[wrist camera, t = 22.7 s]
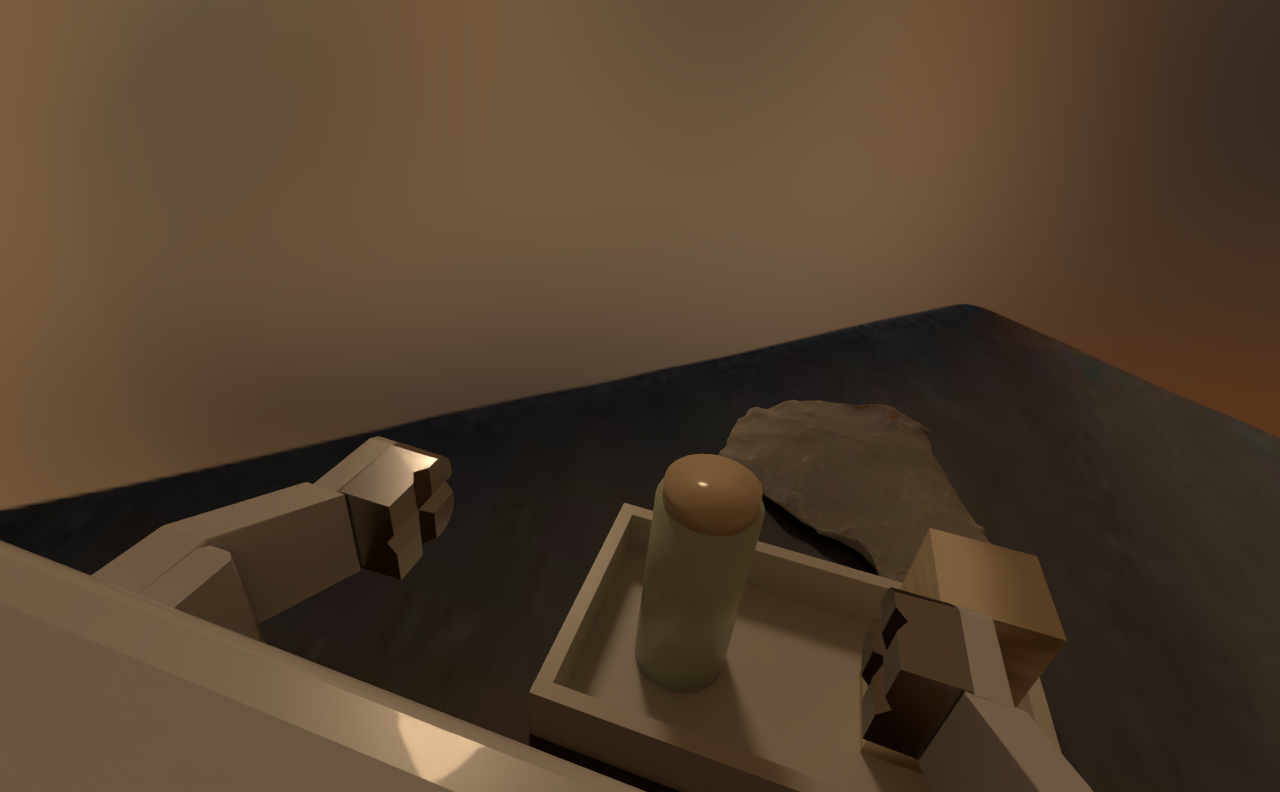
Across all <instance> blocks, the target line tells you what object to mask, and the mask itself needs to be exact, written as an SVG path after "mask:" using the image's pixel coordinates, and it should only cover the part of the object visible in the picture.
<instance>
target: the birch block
mask: <svg viewBox="0 0 1280 792" xmlns="http://www.w3.org/2000/svg"><path fill="white" fill-rule="evenodd" d="M900 590H904V591H907V592H911V593H914V594H918V595H921V596H925V597H928V598H932V599H936V600H939V601H943V602H946V603H950V604H952V605H957V606H961V607H965V608H968V609H972V610H975V611H979V612H983V613H986V614H989V615H990V617H991V618H992V619H993V621H994V625H995V629H996V633H997V637H998V641H999V645H1000V649H1001V653H1002V657H1003V661H1004V665H1005V669H1006V673H1007V677H1008V681H1009V685H1010V689H1011V693H1012V697H1013V701H1014V705H1015V708H1016V707H1017V706H1018V704H1019V703H1020V702H1021V700H1022V699H1023V698H1024V697H1025V695H1026V694H1027V693H1028V691H1029V690H1030V689H1031V687H1032V686H1033V685H1034V683H1035V682H1036V681H1037V679H1038V678H1039V677H1040V675H1041V674H1042V673H1043V671H1044V670H1045V669H1046V667H1047V666H1048V665H1049V663H1050V662H1051V661H1052V659H1053V658H1054V657H1055V655H1056V654H1057V653H1058V651H1059V650H1060V649H1061V647H1062V646H1063V645H1064V644H1065V642H1066V641H1067V640H1066V637H1065V634H1064V632H1063V629H1062V626H1061V623H1060V620H1059V617H1058V615H1057V612H1056V609H1055V606H1054V603H1053V600H1052V598H1051V595H1050V592H1049V589H1048V586H1047V583H1046V581H1045V578H1044V575H1043V572H1042V569H1041V566H1040V564H1039V561H1038V558H1037V556H1033V555H1030V554H1026V553H1022V552H1018V551H1015V550H1011V549H1007V548H1003V547H1000V546H996V545H992V544H988V543H985V542H981V541H977V540H973V539H970V538H966V537H962V536H958V535H955V534H951V533H947V532H943V531H940V530H936V529H932V528H929V530H928V532H927V534H926V536H925V538H924V540H923V542H922V544H921V546H920V548H919V550H918V553H917V555H916V557H915V559H914V561H913V563H912V565H911V567H910V569H909V571H908V573H907V575H906V577H905V579H904V582H903V584H902V586H901V588H900ZM867 688H868V685H867V683H866V682H865V680H864V679H863V677H862V676H861V670H860V752H862V753H865V754H868V755H870V756H873V757H876V758H879V759H882V760H885V761H888V762H891V763H893V764H896V765H899V766H902V767H905V768H908V769H911V770H914V771H916V772H919V773H922V774H923V772H922V770H921V768H920V766H919V764H918V761H919V760H918V759H915V758H912V757H910V756H907V755H904V754H902V753H899V752H896V751H894V750H891V749H888V748H886V747H883V746H880V745H877V744H875V743H872V742H869V741H867V740H864V739H862V698H863V696H864V694H865V692H866V690H867Z"/></svg>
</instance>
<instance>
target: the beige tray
mask: <svg viewBox="0 0 1280 792" xmlns="http://www.w3.org/2000/svg"><path fill="white" fill-rule="evenodd" d="M652 517H653V511H651V510H647V509H644V508H640V507H637V506H633V505H630V504H626V503H624V505H623V507H622V509H621V511H620V513H619V514H618V516H617V518H616V520H615V522H614V524H613V526H612V528H611V530H610V532H609V534H608V536H607V538H606V540H605V542H604V544H603V546H602V548H601V550H600V552H599V554H598V556H597V558H596V560H595V562H594V564H593V566H592V568H591V570H590V572H589V574H588V576H587V578H586V580H585V582H584V584H583V586H582V588H581V590H580V592H579V594H578V596H577V598H576V600H575V602H574V604H573V606H572V608H571V610H570V612H569V614H568V616H567V618H566V620H565V622H564V624H563V626H562V628H561V630H560V632H559V634H558V636H557V638H556V640H555V642H554V644H553V646H552V648H551V650H550V652H549V654H548V656H547V658H546V660H545V662H544V664H543V666H542V668H541V670H540V672H539V674H538V676H537V678H536V680H535V682H534V684H533V686H532V688H531V690H530V692H529V734H531V735H533V736H536V737H539V738H541V739H544V740H546V741H549V742H552V743H554V744H557V745H559V746H562V747H565V748H567V749H570V750H572V751H575V752H578V753H580V754H583V755H586V756H588V757H591V758H593V759H596V760H599V761H601V762H604V763H606V764H609V765H612V766H614V767H617V768H619V769H622V770H625V771H627V772H630V773H633V774H635V775H638V776H640V777H643V778H646V779H648V780H651V781H653V782H656V783H659V784H661V785H664V786H666V787H669V788H672V789H674V790H677V791H680V792H933V791H932V789H931V787H930V785H929V783H928V781H927V779H926V777H925V776H924V774H922V773H919V772H916V771H914V770H911V769H908V768H905V767H902V766H899V765H896V764H893V763H891V762H888V761H885V760H882V759H879V758H876V757H873V756H870V755H868V754H865V753H862V752H860V670H861V660H862V650H863V645H864V641H865V637H866V633H867V630H868V628H869V626H870V623H871V621H872V619H874V618H877V617H879V616H881V600H882V598H883V596H884V594H885V592H886V591H887V590H888V589H889V588H890V587H893V588H897V589H900V588H901V586H902V584H903V583H902V582H898V581H895V580H891V579H888V578H884V577H881V576H877V575H874V574H870V573H867V572H863V571H860V570H856V569H853V568H849V567H846V566H842V565H839V564H835V563H832V562H828V561H825V560H821V559H818V558H814V557H811V556H808V555H804V554H801V553H797V552H794V551H790V550H787V549H783V548H780V547H776V546H773V545H769V544H766V543H762V542H759V541H757V545H756V549H755V552H754V556H753V559H752V563H751V567H750V570H749V574H748V578H747V581H746V585H745V589H744V592H743V596H742V600H741V603H740V607H739V610H738V614H737V618H736V621H735V625H734V629H733V632H732V636H731V640H730V643H729V647H728V651H727V654H726V658H725V661H724V665H723V668H722V671H721V673H720V675H719V677H718V678H717V680H716V681H715V682H714V683H713V684H711V685H710V686H709V687H707V688H705V689H703V690H701V691H698V692H694V693H675V692H671V691H667V690H665V689H663V688H661V687H659V686H657V685H655V684H654V683H653V682H651V681H650V680H649V679H648V678H647V677H646V676H645V675H644V673H643V672H642V671H641V669H640V667H639V665H638V663H637V661H636V657H635V652H634V645H635V637H636V630H637V623H638V616H639V609H640V602H641V595H642V588H643V580H644V573H645V566H646V559H647V552H648V545H649V538H650V531H651V524H652ZM1016 708H1018V709H1021V710H1024V711H1026V712H1027V713H1028V714H1029V716H1030V717H1031V718H1032V719H1033V720H1034V721H1035V723H1036V724H1037V725H1038V726H1039V727H1040V729H1041V730H1042V731H1043V732H1044V733H1045V735H1046V736H1047V737H1048V738H1049V739H1050V741H1051V742H1052V743H1053V744H1054V745H1055V746H1056V748H1057V749H1058V750H1059V751H1060V752H1061V749H1060V746H1059V743H1058V739H1057V736H1056V732H1055V729H1054V725H1053V722H1052V719H1051V715H1050V712H1049V708H1048V705H1047V701H1046V698H1045V694H1044V691H1043V688H1042V684H1041V681H1040V677H1039V678H1038V679H1037V681H1036V682H1035V683H1034V685H1033V686H1032V687H1031V689H1030V690H1029V691H1028V693H1027V694H1026V695H1025V697H1024V698H1023V699H1022V700H1021V702H1020V703H1019V704H1018V706H1017V707H1016ZM1061 754H1062V753H1061Z"/></svg>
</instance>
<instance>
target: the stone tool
mask: <svg viewBox="0 0 1280 792" xmlns="http://www.w3.org/2000/svg"><path fill="white" fill-rule="evenodd" d="M929 433H930V432H929V431H928V429H927V428H925V427H924V426H923V425H922V424H920V423H918V422H916V421H914V420H912V419H910V418H909V417H907V416H905V415H904V414H902V413H901V412H899V411H898V410H897V409H895V408H893V407H890V406H888V405H880V404H867V405H861V406H860V405H847V404H838V403H830V402H825V401H801V402H799V401H795V400H790V401H786V402H783V403H780V404H778V405H776V406H774V407H772V408H770V409H762V408H759V407H755V408H751V409H750V410H748V412H747V414H746V416H745V417H742V418H740V419H738V420H737V423H736V425H735V426H734V427H733V429H732V431H731V433H730V436H729V438H728V439H727V445H726V447H725V448H724V449H722V450H721V451H720V453H719V455H718V456H723V457H726V458H729V459H732V460H734V461H736V462H738V463H740V464H742V465H743V466H745V467H746V468H748V469H749V470H750V471H751V472H752V473H753V474H754V475H755V476H756V477H757V479H758V480H759V482H760V484H761V487H762V492H763V495H764V496H765V497H767V498H768V499H770V500H771V501H773V502H774V503H776V504H778V505H780V506H782V507H783V508H784V509H785V510H786V511H788V512H789V513H790V514H792V515H793V516H794V517H796V518H797V519H798V520H799V521H801V522H802V523H804V524H806V525H808V526H810V527H811V528H813V529H815V530H816V531H817V532H818V533H819V534H821V535H824V536H827V537H830V538H833V539H835V540H838V541H840V542H842V543H843V544H845V545H847V546H849V547H850V548H852V549H854V550H856V551H857V552H859V553H860V554H861V555H863V556H864V557H865V558H866V559H867V560H868V561H869V563H870V564H871V565H872V566H873V567H874V568H875V570H876V572H877V573H878V575H879V576H881V577H884V578H888V579H891V580H895V581H898V582H902V583H903V582H904V579H905V577H906V575H907V573H908V571H909V569H910V567H911V565H912V563H913V561H914V559H915V557H916V555H917V553H918V550H919V548H920V546H921V544H922V542H923V540H924V538H925V536H926V534H927V532H928V530H929V528H932V529H936V530H940V531H943V532H947V533H951V534H955V535H958V536H962V537H966V538H970V539H973V540H977V541H981V542H985V543H988V544H991V543H990V542H989V541H988V540H987V539H986V537H985V529H984V528H983V527H980V526H978V525H977V524H976V523H975V521H974V520H973V519H972V517H971V516H970V514H969V513H968V511H967V510H966V508H965V506H964V505H963V503H962V502H961V501H960V499H959V497H958V495H957V493H956V490H955V489H954V488H953V487H952V485H951V484H950V482H949V480H948V476H947V475H946V474H945V472H944V471H943V469H942V468H941V466H940V464H939V463H938V461H937V460H936V458H935V457H934V455H933V454H932V452H931V449H932V446H931V444H930V442H929V441H928V435H929Z"/></svg>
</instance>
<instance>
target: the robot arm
mask: <svg viewBox="0 0 1280 792" xmlns="http://www.w3.org/2000/svg"><path fill="white" fill-rule="evenodd" d="M451 474H452V473H451V465H450V460H448V459H447V458H445V457H443V456H440V455H437V454H434V453H431V452H428V451H425V450H422V449H418V448H415V447H412V446H409V445H406V444H403V443H398V442H395V441H392V440H389V439H386V438H382V437H379V436H378V437H374V438H370V439H369V440H367V441H366V442H365V443H364V444H362V445H361V446H360V447H359V448H358V449H356V450H355V451H354V452H353V453H351V454H350V455H349V456H348V457H346V458H345V459H344V460H343V461H341V462H340V463H339V464H338V465H336V466H335V467H334V468H333V469H332V470H330V471H329V472H328V473H327V474H325V475H324V476H323V477H322V478H320V479H319V480H318V481H317V482H315V483H314V484H311V483H307V482H305V483H302V484H299V485H295V486H292V487H289V488H286V489H282V490H279V491H276V492H272V493H269V494H266V495H263V496H259V497H256V498H253V499H249V500H246V501H243V502H240V503H236V504H233V505H230V506H226V507H223V508H220V509H217V510H213V511H210V512H207V513H203V514H200V515H197V516H193V517H190V518H187V519H184V520H180V521H177V522H174V523H170V524H167V525H164V526H162V527H160V528H159V529H158V530H156V531H155V532H153V533H152V534H150V535H149V536H147V537H146V538H145V539H143V540H142V541H140V542H139V543H137V544H136V545H135V546H133V547H132V548H130V549H129V550H127V551H126V552H124V553H123V554H122V555H120V556H119V557H117V558H116V559H114V560H113V561H112V562H110V563H109V564H107V565H106V566H104V567H103V568H101V569H100V570H99V571H97V572H96V573H94V574H93V575H91V576H90V575H87V574H85V573H82V572H80V571H77V570H75V569H72V568H69V567H67V566H64V565H62V564H59V563H57V562H54V561H52V560H49V559H46V558H44V557H41V556H39V555H36V554H34V553H31V552H28V551H26V550H23V549H21V548H18V547H16V546H13V545H10V544H8V543H5V542H3V541H0V792H646V791H643V790H641V789H638V788H635V787H633V786H630V785H628V784H625V783H623V782H620V781H617V780H615V779H612V778H610V777H607V776H605V775H602V774H599V773H597V772H594V771H592V770H589V769H587V768H584V767H581V766H579V765H576V764H574V763H571V762H569V761H566V760H563V759H561V758H558V757H556V756H553V755H550V754H548V753H545V752H543V751H540V750H538V749H535V748H532V747H530V746H527V745H525V744H522V743H519V742H517V741H514V740H512V739H509V738H507V737H504V736H501V735H499V734H496V733H494V732H491V731H489V730H486V729H483V728H481V727H478V726H476V725H473V724H470V723H468V722H465V721H463V720H460V719H458V718H455V717H452V716H450V715H447V714H445V713H442V712H439V711H437V710H434V709H432V708H429V707H427V706H424V705H421V704H419V703H416V702H414V701H411V700H409V699H406V698H403V697H401V696H398V695H396V694H393V693H391V692H388V691H385V690H383V689H380V688H378V687H375V686H373V685H370V684H367V683H365V682H362V681H360V680H357V679H355V678H352V677H349V676H347V675H344V674H342V673H339V672H337V671H334V670H331V669H329V668H326V667H324V666H321V665H319V664H316V663H313V662H311V661H308V660H306V659H303V658H301V657H298V656H295V655H293V654H290V653H288V652H285V651H283V650H280V649H277V648H275V647H272V646H270V645H267V644H265V642H264V639H263V637H262V634H261V631H260V629H259V626H258V624H259V623H260V622H262V621H264V620H266V619H268V618H270V617H272V616H274V615H276V614H278V613H280V612H282V611H283V610H285V609H287V608H289V607H291V606H293V605H295V604H297V603H299V602H301V601H303V600H304V599H306V598H308V597H310V596H312V595H314V594H316V593H318V592H320V591H322V590H324V589H326V588H327V587H329V586H331V585H333V584H335V583H337V582H339V581H341V580H343V579H345V578H347V577H348V576H350V575H352V574H354V573H356V572H358V571H360V570H361V568H364V569H367V570H370V571H373V572H377V573H380V574H383V575H386V576H389V577H393V578H396V579H399V580H402V579H403V578H404V576H405V575H406V574H407V573H408V572H409V570H410V569H411V568H412V567H413V566H414V565H415V563H416V562H417V561H418V560H419V559H420V558H421V556H422V555H423V544H424V543H426V542H429V541H431V540H434V539H436V538H437V537H438V536H439V535H440V534H441V532H442V531H443V530H444V529H445V527H446V525H447V523H448V521H449V519H450V517H451V514H452V511H453V505H454V495H453V491H452V489H451V488H450V487H449V485H448V484H447V482H446V480H447V479H448V478H449V476H450V475H451ZM360 567H361V568H360ZM861 676H862V677H863V679H864V680H865V682H866V683H867V685H868V688H867V690H866V692H865V694H864V696H863V698H862V739H864V740H867V741H869V742H872V743H875V744H877V745H880V746H883V747H886V748H888V749H891V750H894V751H896V752H899V753H902V754H904V755H907V756H910V757H912V758H915V759H918V760H919V761H918V764H919V766H920V768H921V770H922V772H923V774H924V776H925V777H926V779H927V781H928V783H929V785H930V787H931V789H932V791H933V792H1093V791H1092V789H1091V788H1090V787H1089V786H1088V785H1087V783H1086V782H1085V781H1084V780H1083V779H1082V777H1081V776H1080V775H1079V774H1078V773H1077V771H1076V770H1075V769H1074V768H1073V767H1072V766H1071V764H1070V763H1069V762H1068V761H1067V760H1066V758H1065V757H1064V756H1063V755H1062V754H1061V752H1060V751H1059V750H1058V749H1057V748H1056V746H1055V745H1054V744H1053V743H1052V742H1051V741H1050V739H1049V738H1048V737H1047V736H1046V735H1045V733H1044V732H1043V731H1042V730H1041V729H1040V727H1039V726H1038V725H1037V724H1036V723H1035V721H1034V720H1033V719H1032V718H1031V717H1030V716H1029V714H1028V713H1027V712H1026V711H1024V710H1021V709H1018V708H1015V705H1014V701H1013V697H1012V693H1011V689H1010V685H1009V681H1008V677H1007V673H1006V669H1005V665H1004V661H1003V657H1002V653H1001V649H1000V645H999V641H998V637H997V633H996V629H995V625H994V621H993V619H992V618H991V617H990V615H989V614H986V613H983V612H979V611H975V610H972V609H968V608H965V607H961V606H957V605H952V604H950V603H946V602H943V601H939V600H936V599H932V598H928V597H925V596H921V595H918V594H914V593H911V592H907V591H904V590H900V589H897V588H893V587H890V588H889V589H888V590H887V591H886V592H885V594H884V596H883V598H882V600H881V616H879V617H877V618H874V619H872V621H871V623H870V626H869V628H868V630H867V633H866V637H865V641H864V645H863V650H862V660H861Z"/></svg>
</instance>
